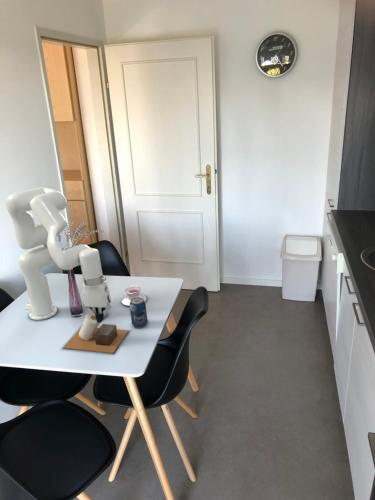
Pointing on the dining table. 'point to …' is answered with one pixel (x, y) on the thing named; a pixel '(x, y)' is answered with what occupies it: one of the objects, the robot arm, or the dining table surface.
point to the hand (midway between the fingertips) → (100, 320)
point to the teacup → (132, 294)
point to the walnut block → (105, 334)
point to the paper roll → (88, 327)
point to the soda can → (138, 312)
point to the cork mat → (94, 343)
